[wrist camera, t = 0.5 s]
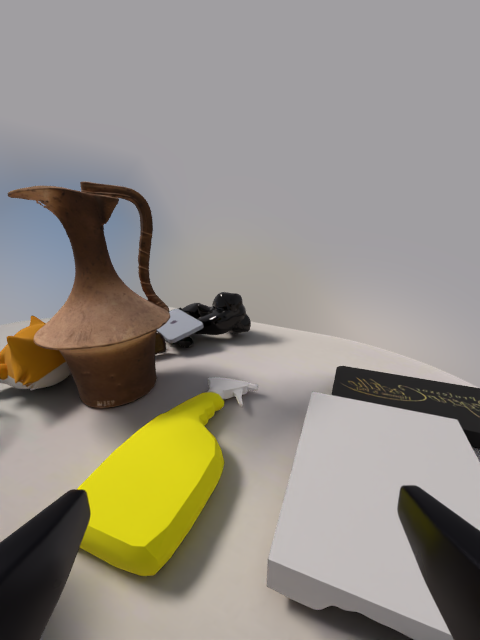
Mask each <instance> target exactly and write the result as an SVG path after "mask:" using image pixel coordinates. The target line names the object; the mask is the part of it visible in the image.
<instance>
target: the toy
mask: <svg viewBox="0 0 480 640" xmlns="http://www.w3.org/2000/svg"><path fill="white" fill-rule="evenodd" d="M45 324H46V323H44V322H42V321H41V320H39V319H38V318H37V317H35V316H31V322H30V326H29V327H26V328H24V329H22V330H20V331H19V332H18V333H17V334H15V335H14V336H8V337H7V342H8V344H7V345H6V346H5V347H4V349H3V350H2V351H1V352H0V383H4V384H8V385H11V386H13V387H14V388H17V389H30V391H31V390H34V389H38V388H44V387H49V386H52V385H55V384H57V383H59V382H61V381H62V380H64V379H65V378H66V377H68V376H69V375H70V374H71V372H70V369H69V367H68V365H67V363H66V361H65V359H64V357H63V356H62V354H61V353H60V351H59V350H52V349H45V348H42V347H40V346H38V345H36V344H35V343H34V340H33V339H34V336H35V334H36V332H37V331H38V330H39V329H41V328H42V327H43V326H44V325H45Z"/></svg>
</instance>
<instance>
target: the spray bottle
mask: <svg viewBox="0 0 480 640" xmlns="http://www.w3.org/2000/svg"><path fill="white" fill-rule="evenodd" d="M208 386H209V390H208V391H207V392H206V393H201V394H199V395H197V396H195V397H193V398H191V399H189V400H187V401H185V402H183V403H181V404H179V405H178V406H176V407H174V408H173V409H171V410H169V411H168V412H166V413H163V414H160V415H158V416H157V417H155V418H154V419H153V420H151V421H150V422H149V423H147V424H146V425H145V426H143V427H142V428H141V429H139V430H138V431H137V432H136V433H134V434H133V435H132V436H131V437H130V438H129V439H128V440H126V441H125V442H124V443H123V444H122V445H121V446H119V447H118V448H117V449H116V450H115V451H114V452H113V453H112V454H111V455H110V456H109V457H108V458H107V459H106V460H105V461H104V462H103V463H102V464H101V465H100V466H99V467H98V468H97V469H96V470H95V471H94V472H93V473H92V474H91V475H90V476H89V477H88V478H87V479H86V480H85V481H84V482H83V483H82V484H81V485H80V486H79V487H78V489H77V490H81V489H83V490H85V491H86V492H87V496H88V501H89V506H90V511H91V515H90V520H89V523H88V526H87V529H86V531H85V534H84V537H83V539H82V542H81V545H80V548H81V549H83V550H85V551H87V552H89V553H91V554H92V555H94V556H96V557H98V558H100V559H102V560H103V561H105V562H107V563H109V564H111V565H113V566H114V567H117V568H120V569H122V570H125V571H128V572H131V573H134V574H137V575H140V576H150V575H155V574H156V573H157V572H158V571H159V570H160V569H161V568H162V567H163V566H164V564H165V563H166V562H167V561H168V560H169V559H170V558H171V556H172V555H173V554H174V552H175V551H176V549H177V548H178V546H179V545H180V543H181V542H182V541H183V539H184V538H185V536H186V535H187V533H188V532H189V530H190V529H191V527H192V526H193V524H194V523H195V521H196V519H197V518H198V516H199V514H200V513H201V511H202V509H203V508H204V506H205V504H206V502H207V501H208V499H209V497H210V496H211V494H212V492H213V491H214V489H215V487H216V485H217V484H218V482H219V479H220V477H221V474H222V471H223V467H224V459H223V455H222V450H221V448H220V446H219V444H218V442H217V440H216V438H215V437H214V436H213V435H212V434H211V433H210V432H209V431H208V430H207V429H206V428H205V425H206V424H207V423H208V420H209V419H210V418H212V417H213V416H214V413H215V411H218V410H220V409H221V408H222V407H223V406H224V400H223V399H228V398H231V397H234V396H235V397H236V399H237V401H238V403H239V405H240V406H241V407H243V403H242V395H243V394H246V393H247V392H248V391H254V392H257V391H258V385H257V384H252V383H250V382H246V381H240V380H234V379H228V378H222V377H209V378H208Z"/></svg>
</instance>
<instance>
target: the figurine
mask: <svg viewBox="0 0 480 640" xmlns="http://www.w3.org/2000/svg"><path fill="white" fill-rule="evenodd" d="M155 339H156V341H155V354H157V353H160V352H164V351H165V350H166V343H165V339H164V337H163V335H162V334H161V333H159V332H158V333H156V336H155Z"/></svg>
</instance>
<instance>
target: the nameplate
mask: <svg viewBox="0 0 480 640" xmlns="http://www.w3.org/2000/svg"><path fill="white" fill-rule="evenodd" d="M332 395H333V396H338V397H343V398H349V399H354V400H359V401H364V402H369V403H374V404H379V405H385V406H390V407H395V408H400V409H405V410H410V411H415V412H420V413H426V414H431V415H436V416H441V417H446V418H451V419H456V420H458V422H459V424H460V426H461V428H462V430H463V431H464V433H465V435H466V437H467V439H468V441H469V443H470V445H471V446H472V447H476V448H480V388H474V387H468V386H462V385H456V384H450V383H444V382H437V381H431V380H425V379H419V378H413V377H407V376H401V375H395V374H389V373H383V372H377V371H371V370H365V369H358V368H352V367H346V366H339V367H337V369H336V374H335V380H334V385H333V390H332Z"/></svg>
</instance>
